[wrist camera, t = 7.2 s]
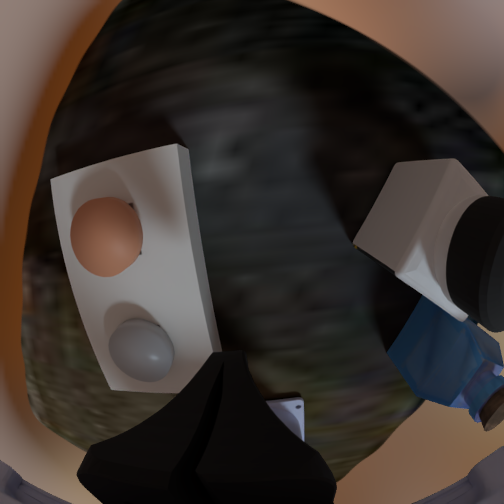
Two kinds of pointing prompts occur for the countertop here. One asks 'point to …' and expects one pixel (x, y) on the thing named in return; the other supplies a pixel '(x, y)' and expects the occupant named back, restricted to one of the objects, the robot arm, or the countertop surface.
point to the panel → (144, 262)
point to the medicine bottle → (440, 238)
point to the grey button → (141, 350)
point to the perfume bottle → (451, 363)
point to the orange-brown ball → (106, 236)
